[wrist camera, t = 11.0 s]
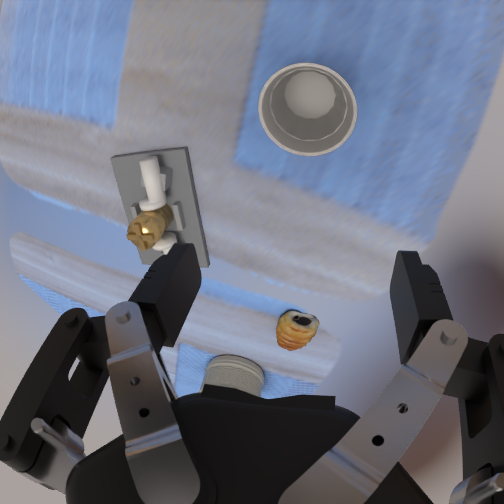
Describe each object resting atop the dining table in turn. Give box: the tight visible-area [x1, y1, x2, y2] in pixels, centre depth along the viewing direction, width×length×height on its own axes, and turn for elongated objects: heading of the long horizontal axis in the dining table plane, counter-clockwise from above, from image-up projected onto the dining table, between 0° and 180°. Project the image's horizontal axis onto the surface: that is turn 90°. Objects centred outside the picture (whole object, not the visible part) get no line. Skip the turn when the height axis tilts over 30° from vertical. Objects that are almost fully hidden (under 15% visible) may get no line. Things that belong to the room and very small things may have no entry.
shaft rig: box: [110, 147, 210, 268], centre depth 44 cm, size 19×12×5 cm, turn 5°
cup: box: [258, 63, 357, 156], centre depth 28 cm, size 8×8×12 cm
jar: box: [198, 355, 264, 397], centre depth 60 cm, size 13×13×18 cm
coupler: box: [127, 204, 174, 251], centre depth 43 cm, size 4×4×7 cm
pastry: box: [276, 311, 319, 351], centre depth 54 cm, size 9×7×4 cm
